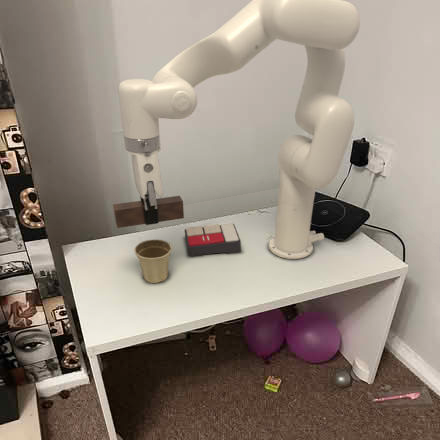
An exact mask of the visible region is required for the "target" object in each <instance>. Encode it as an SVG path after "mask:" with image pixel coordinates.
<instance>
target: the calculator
mask: <svg viewBox="0 0 440 440" xmlns="http://www.w3.org/2000/svg"><path fill="white" fill-rule="evenodd" d="M184 237H185V242H186V248H187V254H188V257H196V256H204V255H213V254H221V253H226V254H234V253H240V252H241V251H242V250H241V249H242V245H241V244H242V243H241V238H240V235H239V233H238V231H237V228H236V225H235V223H233V222H230V223H221V224H218V223H217V224H210V225H203V226H201V225H199V226H191V227H186V228H185V229H184Z"/></svg>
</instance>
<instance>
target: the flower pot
mask: <svg viewBox="0 0 440 440" xmlns="http://www.w3.org/2000/svg"><path fill="white" fill-rule="evenodd" d="M133 251H134V255H136V257H137V260H138V261H139V264H140V268H141V272H142V275H143V279H144V280H145V281H146V282H148V283H151V284H159V283H160V282H164V281H166V279H167V278H168V277H169V264H170V256H171V253H172V251H173V246H172V244H171V243H169V242H168V241H166V240H162V239H147V240H143V241H141V242H139V243H138V244H136V246H135V247H134V250H133Z"/></svg>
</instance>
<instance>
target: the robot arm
mask: <svg viewBox="0 0 440 440" xmlns="http://www.w3.org/2000/svg"><path fill="white" fill-rule="evenodd" d="M360 25H361V19H360V14H359V12H358V10H357V8H356V6H355V5H353V3H351V2H349V1H346V0H250V2H249V3H247V4H246V5H245V6H244V7H243V8H242V9H240V10H239V11H238V12H237V13H236V14H234V15H233V16H232V17H230V19H229V20H228V21H225V23H224V24H223V25H222V26H220V27H219V28H218V29H216V30H215V31H214V32H213V33H211V34H209V35H207V36H206V37H204V38H201V40H199V41H197V42H195V43H194V44H191V46H189V47H188V48H186V49H184V50H183V51H181V52H180V53H179V54H177V55H176V56H175V57H173V58H172V59H171V60H170V61H169V62H168V63H167V64H165V65H164V66H163V67H162V68H161V69H159V70H158V71H157V72H156V73H155V75H154V76H153V78H152V79H151V80H150V79H147V78H129V79H125V80H122V81H121V82H120V83H119V85H118V97H119V106H120V107H119V108H120V116H121V122H122V129H123V130H122V131H123V139H124V140H123V141H124V149H125V152H126V153H127V154H129V155H130V156H131V163H132V172H133V178H134V184H135V187H136V189H137V191H138V193H139V199H140V201H143V200H144V208H145V209H143V210H144V220H145V224H144V225H145V226H150V225H157V224H159V223H160V222H159V220H158V209H157V202H156V199H157V197H159V198H163V195H164V193H163V192H164V191H163V184H162V183H163V182H162V176H161V167H160V160H159V155H158V153H159V152H160V151H162V150H161V138H160V137H161V135H160V123H159V121H160V120H159V119H167V120H183V119H187V118H188V117H190V116H191V115H192V114H193V113H194V112H195V111H196V108H197V105H198V95H197V92H196V90H195V87H196V86H198V85H200V84H201V83H202V82H204V81H206V80H209V79H210V78H213V77H216V76H221V75H229V74H231V73H234V72H237V71H240V70H241V69H243V68H244V67H245V66H246V65H247V64H248V63H249V62H251V61H252V60H253V59H254V58H255V57H257V56H258V55H259V54H260V53H261V52H263V51H264V50H265V49H266V48H268V46H270V45H271V44H272V43H273V42H274V41H276V40H279V41H283V42H287V43H291V44H296V45H300V46H304V48H305V51H306V56H307V57H306V58H307V64H306V71H305V74H304V79H303V84H302V86H301V90H300V93H299V98H298V100H297V103H296V108H295V112H294V113H295V114H294V120H295V123H296V125H297V126H298V127H299V128H300V129H301V130H302V131H305V132H306V133H308V134H309V135H311V136H312V138H310V137H309V136H305V135H301V134H296V135H292V136H290V137H288V138H286V139H285V140H284V141H283V142H282V144H281V145H280V148H279V151H278V156H277V157H278V159H277V163H278V164H277V165H278V175H279V178H278V181H279V183H278V186H279V187H278V196H277V197H278V198H277V206H276V207H277V209H276V221H275V231H274V232H275V233H274V236H273V237H272V238H270V240H269V242H268V249H269V250H270V252H271V253H272V254H274V255H275V256H277V257H280V258H283V259H288V260H297V259H304V258H306V257H308V256H309V255H311V254H312V252H313V250H314V245H313V243H314V242H316V241H323V240H324V239H325V235H324V233H323V232H320V233H316V230H311V225H312V224H311V223H312V216H313V210H314V202H315V197H316V190H317V189H318V190H319V189H323V188H325V187H327V186H329V185H330V184H331V183H332V182H333V181H334V180H335V178H336V176H337V174H338V172H339V171H340V168H341V165H342V163H343V160H344V157H345V154H346V152H347V149H348V145H349V142H350V139H351V136H352V134H353V130H354V126H355V125H354V124H355V113H354V110H353V108H352V106H351V104H350V103H349V102H348V101H347V100H345V99H343V98H341V97H339V93H340V89H341V84H342V82H343V77H344V75H345V69H346V53H345V52H346V51H345V49H346V48H347V47H349V46H350V45H351V44H352V43H353V42H354V40H355V39H356V38H357V35H358V33H359V30H360V27H361V26H360ZM147 200H149V201H148V202H147Z"/></svg>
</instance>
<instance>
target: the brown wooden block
mask: <svg viewBox="0 0 440 440" xmlns="http://www.w3.org/2000/svg"><path fill="white" fill-rule="evenodd" d="M148 201H149V200H147V202H148ZM156 202H157V209H158V220H159V223H162V222H168V221H175V220H181V219H185V211H184V210H185V209H184V200H183V198H182V197H181V195H175V196H167V197H159V198H156ZM112 207H113V214H114V221H115V224H116V225H115V226H116V228H117V229H121V228H128V227H134V226H142V225H146V224H145V220H144V210H143V209H145V208H144V200H143V201H141V200H137V201H128V202H120V203H114V204H112Z"/></svg>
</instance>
